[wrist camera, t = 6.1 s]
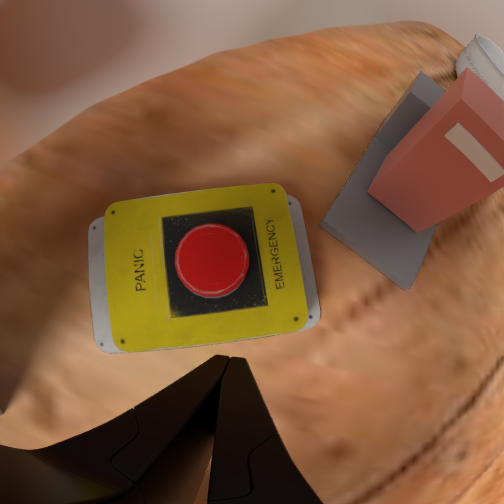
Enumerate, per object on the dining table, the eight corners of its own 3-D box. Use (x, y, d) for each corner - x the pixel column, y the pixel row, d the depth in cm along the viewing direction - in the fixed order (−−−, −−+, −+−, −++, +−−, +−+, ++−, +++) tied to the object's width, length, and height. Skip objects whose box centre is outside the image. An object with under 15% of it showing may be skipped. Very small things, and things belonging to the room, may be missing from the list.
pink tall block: (416, 234, 20) (528, 173, 9) (365, 193, 20) (460, 100, 10) (432, 195, 21) (527, 128, 10) (385, 156, 21) (467, 66, 11)
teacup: (446, 56, 29) (472, 22, 21) (499, 100, 29) (528, 73, 21) (444, 109, 26) (483, 67, 18) (506, 163, 25) (548, 134, 18)
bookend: (403, 290, 20) (467, 274, 13) (318, 225, 21) (360, 181, 14) (449, 173, 23) (495, 138, 17) (384, 119, 24) (420, 71, 17)
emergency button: (345, 327, 15) (70, 359, 13) (320, 326, 20) (99, 353, 18) (313, 167, 17) (64, 199, 15) (296, 196, 22) (91, 222, 20)
